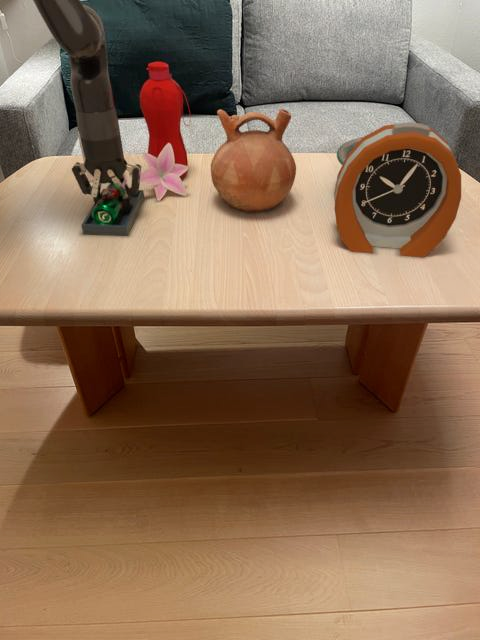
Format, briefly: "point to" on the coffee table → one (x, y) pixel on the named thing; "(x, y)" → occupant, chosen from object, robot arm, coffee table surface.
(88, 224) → the tray
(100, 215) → the soda can
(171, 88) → the water bottle
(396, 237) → the alarm clock
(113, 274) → the coffee table surface
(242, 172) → the jug
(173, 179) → the lily
